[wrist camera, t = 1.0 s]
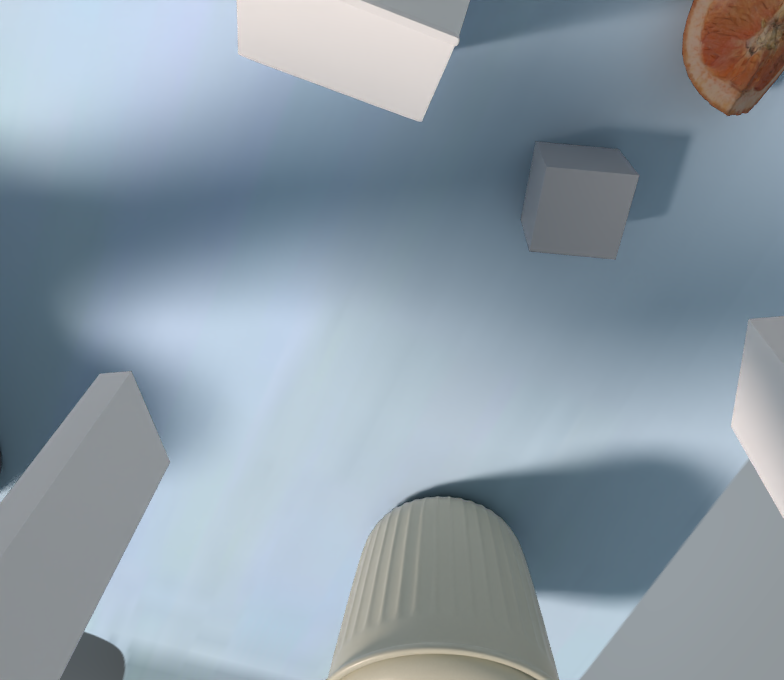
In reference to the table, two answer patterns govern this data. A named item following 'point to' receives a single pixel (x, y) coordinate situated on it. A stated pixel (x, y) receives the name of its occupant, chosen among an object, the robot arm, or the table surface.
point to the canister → (442, 600)
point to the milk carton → (357, 45)
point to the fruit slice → (734, 51)
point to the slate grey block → (577, 200)
